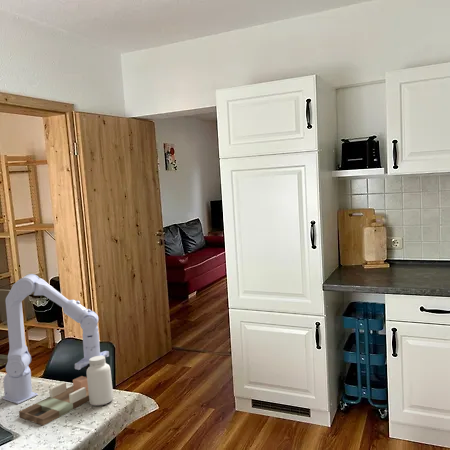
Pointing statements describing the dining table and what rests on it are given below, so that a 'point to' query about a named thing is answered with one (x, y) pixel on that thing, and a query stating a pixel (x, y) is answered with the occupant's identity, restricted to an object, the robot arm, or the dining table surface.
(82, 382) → the block
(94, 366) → the pill bottle
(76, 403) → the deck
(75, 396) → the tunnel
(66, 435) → the dining table surface
